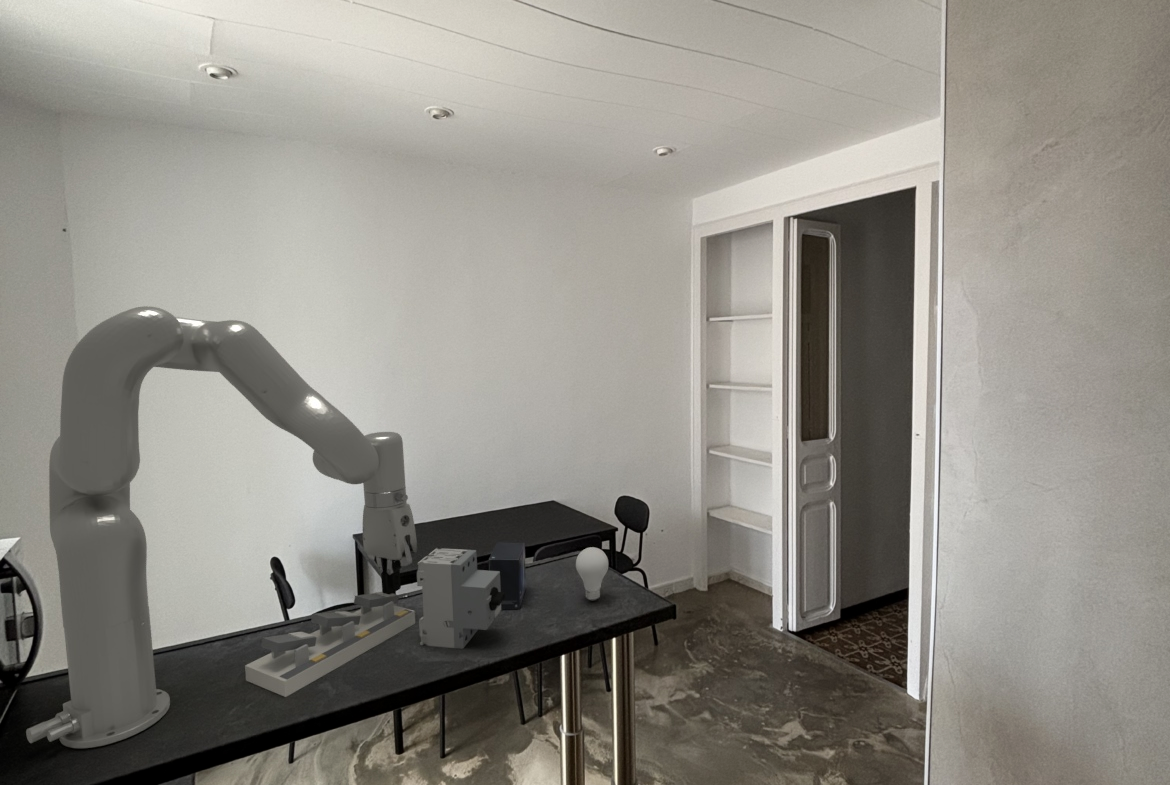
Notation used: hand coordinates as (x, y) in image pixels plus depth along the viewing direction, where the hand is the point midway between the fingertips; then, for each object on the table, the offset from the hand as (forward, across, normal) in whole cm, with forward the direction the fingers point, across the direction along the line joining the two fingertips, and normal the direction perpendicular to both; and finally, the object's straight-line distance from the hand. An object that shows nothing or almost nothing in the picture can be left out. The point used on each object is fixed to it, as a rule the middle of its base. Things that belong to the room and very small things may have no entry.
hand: (391, 590), depth 117 cm
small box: (+6, -14, -18) cm, 24 cm away
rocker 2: (0, 0, +13) cm, 13 cm away
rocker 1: (0, 0, +22) cm, 22 cm away
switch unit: (+6, 0, +13) cm, 14 cm away
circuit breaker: (+6, -17, -1) cm, 18 cm away
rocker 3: (0, 0, +4) cm, 4 cm away
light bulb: (+7, -30, -25) cm, 40 cm away
